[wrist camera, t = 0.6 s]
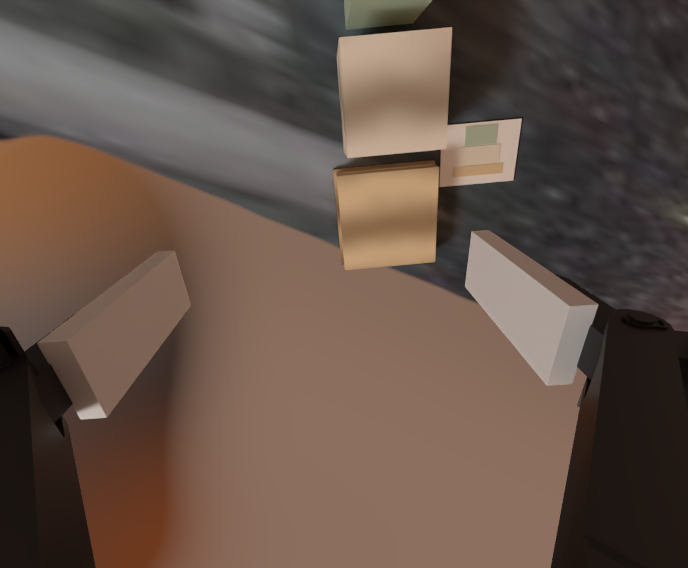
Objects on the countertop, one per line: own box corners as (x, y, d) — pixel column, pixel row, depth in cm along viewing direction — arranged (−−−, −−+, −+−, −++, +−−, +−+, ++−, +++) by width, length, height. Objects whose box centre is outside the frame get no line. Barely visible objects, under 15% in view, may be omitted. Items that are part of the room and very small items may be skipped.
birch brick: (336, 57, 30) (339, 37, 23) (423, 49, 30) (452, 27, 23) (343, 150, 34) (347, 158, 27) (421, 143, 34) (446, 149, 27)
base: (332, 169, 35) (333, 173, 32) (433, 160, 35) (442, 163, 32) (341, 262, 39) (342, 272, 37) (430, 254, 39) (437, 264, 37)
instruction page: (441, 125, 33) (442, 125, 33) (520, 118, 33) (522, 118, 33) (439, 186, 36) (439, 187, 36) (512, 180, 36) (513, 180, 36)
